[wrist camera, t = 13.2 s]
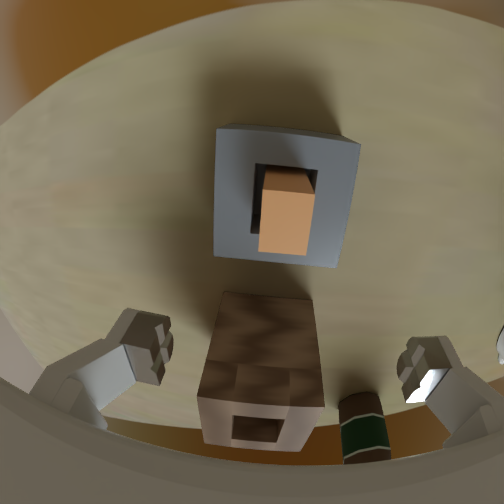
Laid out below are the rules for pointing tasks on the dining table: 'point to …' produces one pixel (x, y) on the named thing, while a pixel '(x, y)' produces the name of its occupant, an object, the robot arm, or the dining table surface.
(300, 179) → the peg
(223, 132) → the low socket
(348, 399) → the beer bottle
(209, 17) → the dining table surface
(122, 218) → the dining table surface
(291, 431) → the wood block with hole
